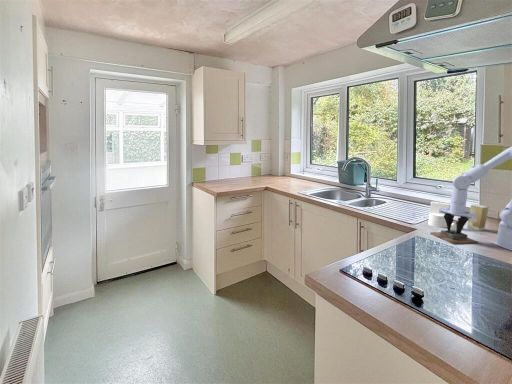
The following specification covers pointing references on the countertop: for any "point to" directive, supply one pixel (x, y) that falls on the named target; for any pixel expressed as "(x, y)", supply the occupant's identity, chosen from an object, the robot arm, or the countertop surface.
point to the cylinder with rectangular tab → (437, 214)
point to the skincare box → (478, 217)
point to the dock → (454, 237)
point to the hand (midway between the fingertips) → (454, 231)
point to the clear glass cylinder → (454, 227)
